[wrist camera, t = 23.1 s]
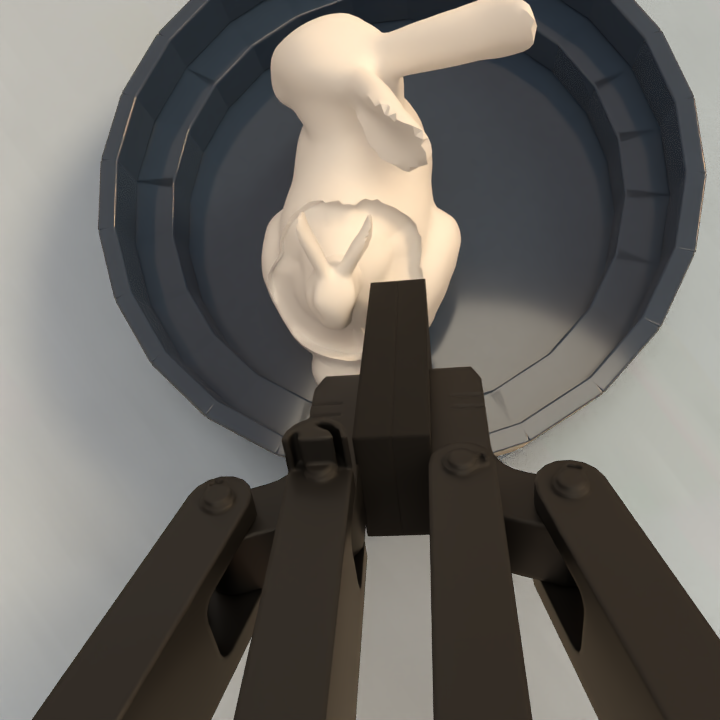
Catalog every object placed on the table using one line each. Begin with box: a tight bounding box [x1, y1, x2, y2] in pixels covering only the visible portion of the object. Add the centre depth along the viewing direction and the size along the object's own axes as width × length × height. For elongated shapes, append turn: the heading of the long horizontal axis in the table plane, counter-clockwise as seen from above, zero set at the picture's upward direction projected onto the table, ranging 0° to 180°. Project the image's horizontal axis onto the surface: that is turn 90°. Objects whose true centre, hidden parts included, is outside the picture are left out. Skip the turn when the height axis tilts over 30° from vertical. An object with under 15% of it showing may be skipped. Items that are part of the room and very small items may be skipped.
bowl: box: [98, 0, 706, 457], centre depth 24 cm, size 19×19×4 cm
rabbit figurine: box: [261, 0, 537, 385], centre depth 20 cm, size 12×8×10 cm, turn 173°
